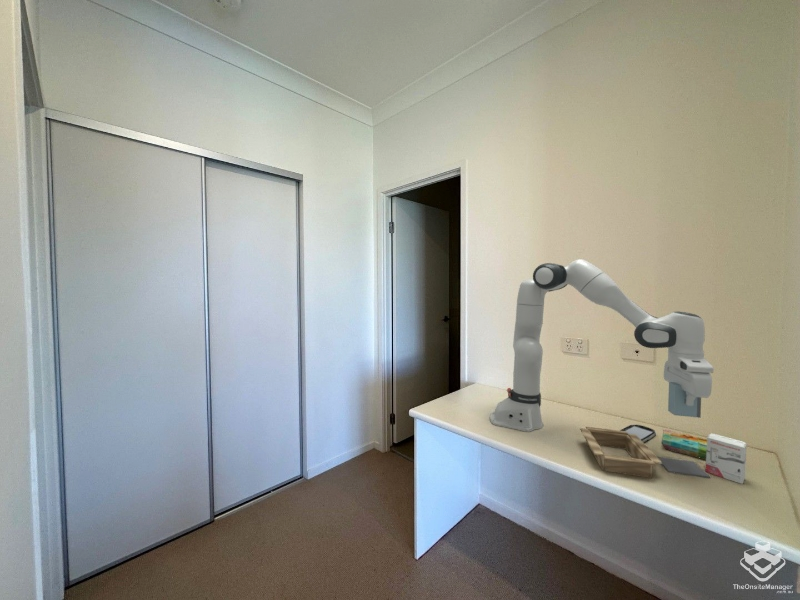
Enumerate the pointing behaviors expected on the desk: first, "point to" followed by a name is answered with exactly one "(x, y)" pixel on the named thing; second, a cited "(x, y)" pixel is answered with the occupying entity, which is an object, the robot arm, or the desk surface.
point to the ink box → (726, 457)
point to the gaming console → (640, 432)
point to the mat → (682, 467)
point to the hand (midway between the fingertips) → (684, 402)
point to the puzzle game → (685, 443)
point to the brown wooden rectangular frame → (620, 439)
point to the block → (682, 402)
